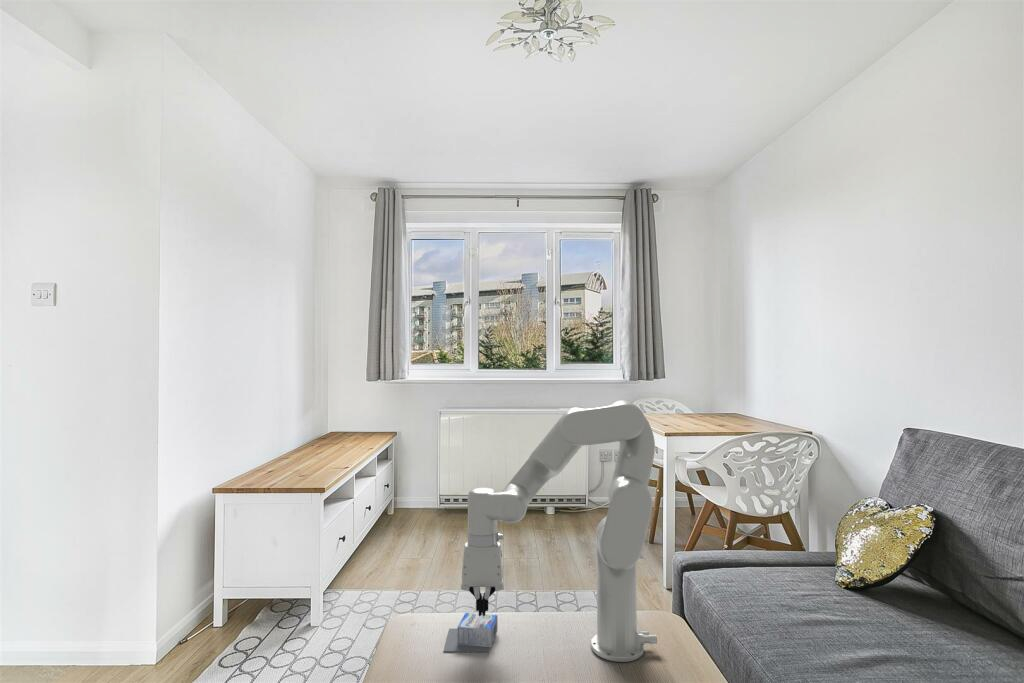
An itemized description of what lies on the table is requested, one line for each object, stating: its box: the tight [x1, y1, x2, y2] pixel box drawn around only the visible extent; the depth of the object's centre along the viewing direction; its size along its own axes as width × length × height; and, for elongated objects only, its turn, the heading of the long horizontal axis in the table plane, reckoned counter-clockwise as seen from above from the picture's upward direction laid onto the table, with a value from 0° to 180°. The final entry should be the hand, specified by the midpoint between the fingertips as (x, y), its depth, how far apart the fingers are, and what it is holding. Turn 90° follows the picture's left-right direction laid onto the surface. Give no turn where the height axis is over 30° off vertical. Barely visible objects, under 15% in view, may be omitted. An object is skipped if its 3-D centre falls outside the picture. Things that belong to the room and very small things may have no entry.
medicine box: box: [456, 612, 499, 648], centre depth 134 cm, size 8×4×9 cm
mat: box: [442, 628, 491, 653], centre depth 133 cm, size 11×11×1 cm
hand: (482, 613), depth 133 cm, fingers closed
